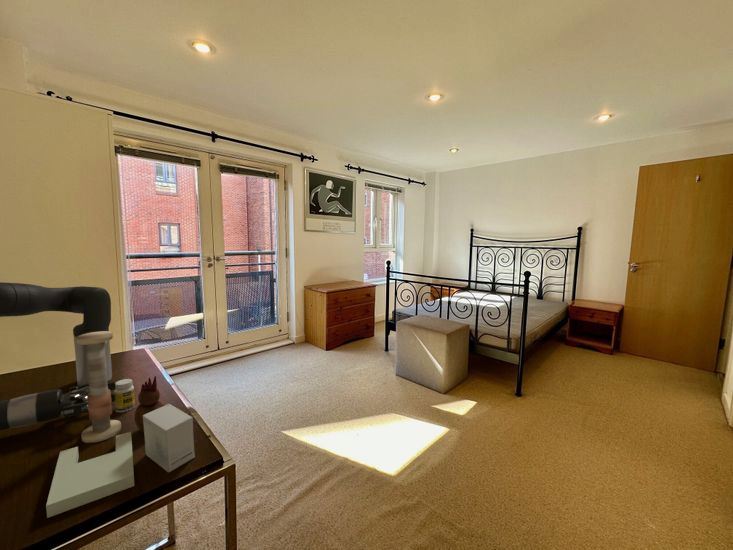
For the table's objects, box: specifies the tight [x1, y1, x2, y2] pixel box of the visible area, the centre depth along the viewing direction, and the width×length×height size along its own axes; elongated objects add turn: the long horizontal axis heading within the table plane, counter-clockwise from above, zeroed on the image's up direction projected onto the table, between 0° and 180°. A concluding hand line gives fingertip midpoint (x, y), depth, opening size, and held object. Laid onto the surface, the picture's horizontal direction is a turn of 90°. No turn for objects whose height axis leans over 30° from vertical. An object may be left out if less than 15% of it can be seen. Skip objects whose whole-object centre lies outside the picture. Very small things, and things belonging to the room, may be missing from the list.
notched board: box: [45, 431, 135, 519], centre depth 69 cm, size 18×13×2 cm
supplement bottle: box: [113, 378, 136, 413], centre depth 94 cm, size 5×5×8 cm
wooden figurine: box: [134, 375, 165, 433], centre depth 85 cm, size 7×6×15 cm
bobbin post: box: [76, 330, 122, 444], centre depth 82 cm, size 8×8×26 cm
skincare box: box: [143, 403, 196, 473], centre depth 75 cm, size 10×6×10 cm, turn 58°
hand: (115, 391), depth 93 cm, fingers open, 8 cm apart
